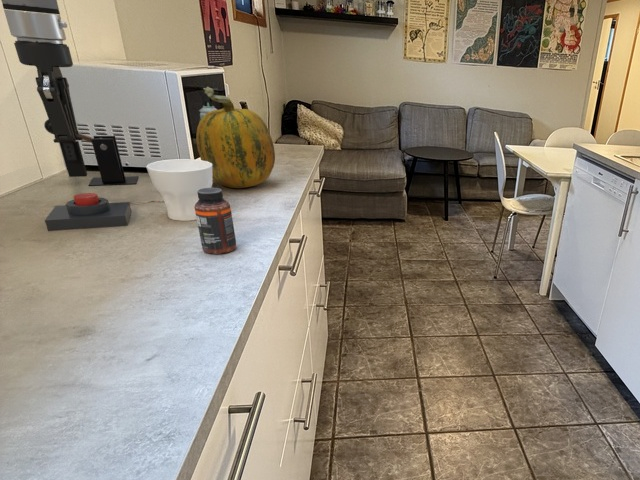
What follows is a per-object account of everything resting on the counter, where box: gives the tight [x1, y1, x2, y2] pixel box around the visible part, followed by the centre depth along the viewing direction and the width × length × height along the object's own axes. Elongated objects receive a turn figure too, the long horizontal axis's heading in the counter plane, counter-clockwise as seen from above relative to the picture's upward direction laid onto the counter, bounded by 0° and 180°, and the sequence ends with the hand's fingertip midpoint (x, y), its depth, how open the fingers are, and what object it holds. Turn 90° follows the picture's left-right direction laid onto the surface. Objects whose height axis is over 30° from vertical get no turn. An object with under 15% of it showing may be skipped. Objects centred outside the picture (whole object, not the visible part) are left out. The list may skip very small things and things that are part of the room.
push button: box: [73, 192, 100, 205], centre depth 96 cm, size 4×4×2 cm
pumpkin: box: [195, 86, 276, 189], centre depth 124 cm, size 19×19×25 cm
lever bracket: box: [87, 135, 139, 187], centre depth 119 cm, size 10×8×12 cm
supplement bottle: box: [194, 187, 237, 255], centre depth 86 cm, size 6×6×11 cm
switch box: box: [44, 197, 133, 232], centre depth 97 cm, size 13×10×4 cm
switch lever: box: [43, 119, 104, 144], centre depth 114 cm, size 13×4×4 cm, turn 118°
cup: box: [146, 158, 213, 222], centre depth 102 cm, size 12×12×11 cm
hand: (78, 175), depth 93 cm, fingers closed
